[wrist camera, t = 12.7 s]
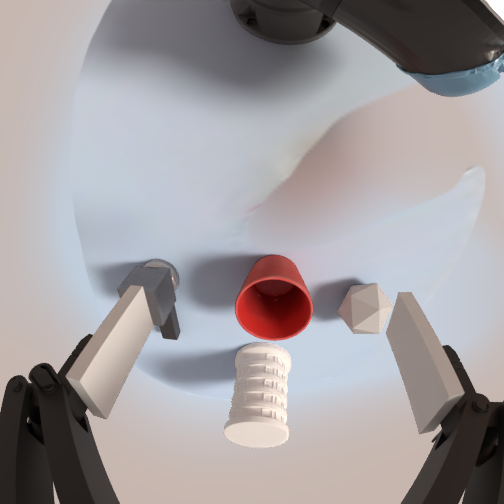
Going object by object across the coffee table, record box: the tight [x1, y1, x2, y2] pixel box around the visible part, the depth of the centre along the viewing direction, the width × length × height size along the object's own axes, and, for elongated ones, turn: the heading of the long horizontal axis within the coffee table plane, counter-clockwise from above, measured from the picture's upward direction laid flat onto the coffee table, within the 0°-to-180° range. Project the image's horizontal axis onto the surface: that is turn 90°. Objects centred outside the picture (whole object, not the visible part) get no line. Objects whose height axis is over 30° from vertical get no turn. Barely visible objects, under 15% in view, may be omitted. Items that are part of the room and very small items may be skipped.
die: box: [337, 283, 393, 334], centre depth 43 cm, size 8×9×10 cm
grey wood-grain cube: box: [117, 266, 176, 326], centre depth 43 cm, size 6×6×7 cm
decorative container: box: [224, 342, 291, 448], centre depth 47 cm, size 12×12×18 cm
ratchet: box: [144, 259, 180, 340], centre depth 48 cm, size 16×7×6 cm, turn 1°
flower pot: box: [235, 255, 313, 341], centre depth 42 cm, size 11×11×10 cm
